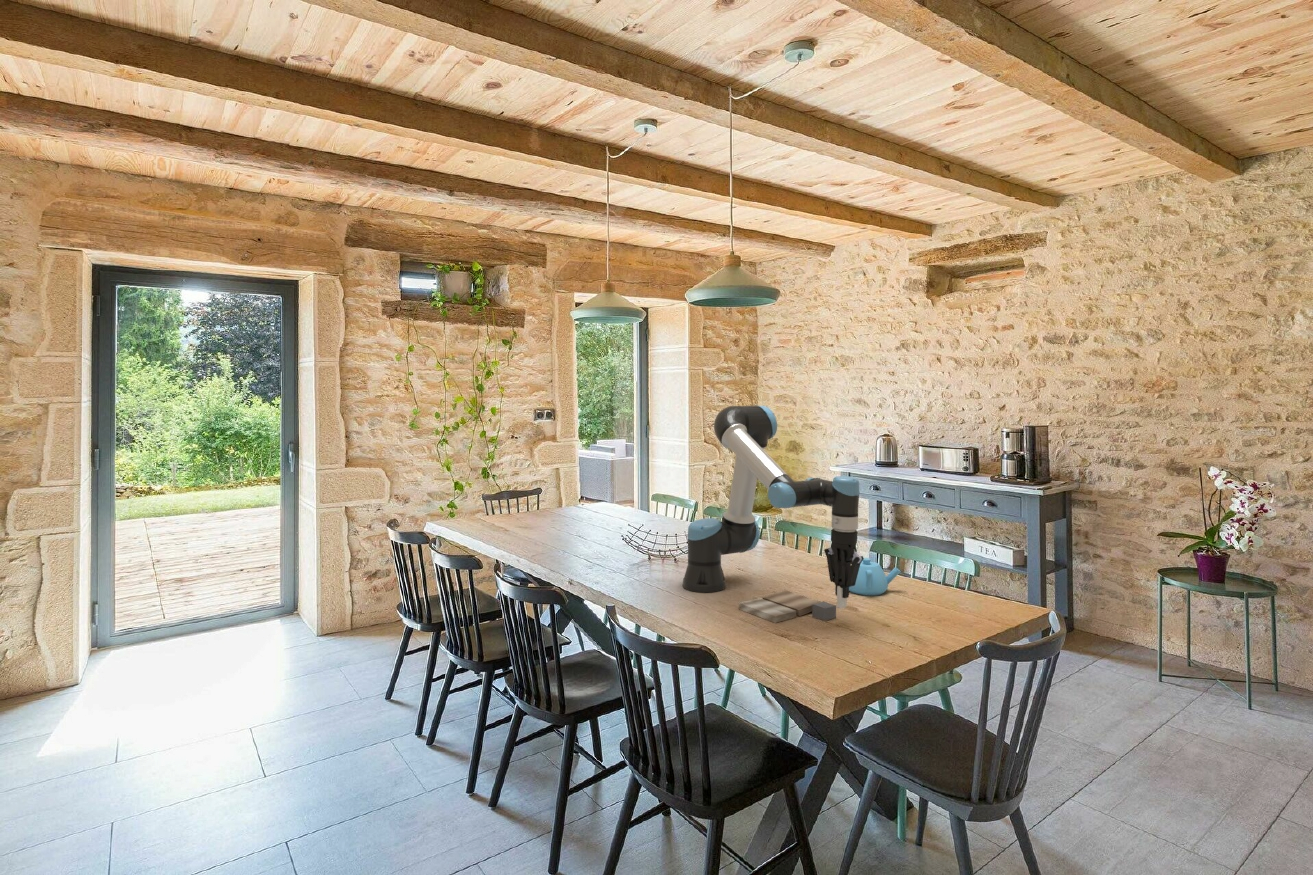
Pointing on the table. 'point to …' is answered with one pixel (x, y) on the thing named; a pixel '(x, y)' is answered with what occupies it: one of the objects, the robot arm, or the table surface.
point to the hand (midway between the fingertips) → (841, 607)
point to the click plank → (792, 601)
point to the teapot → (872, 579)
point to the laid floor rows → (767, 610)
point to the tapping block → (824, 611)
